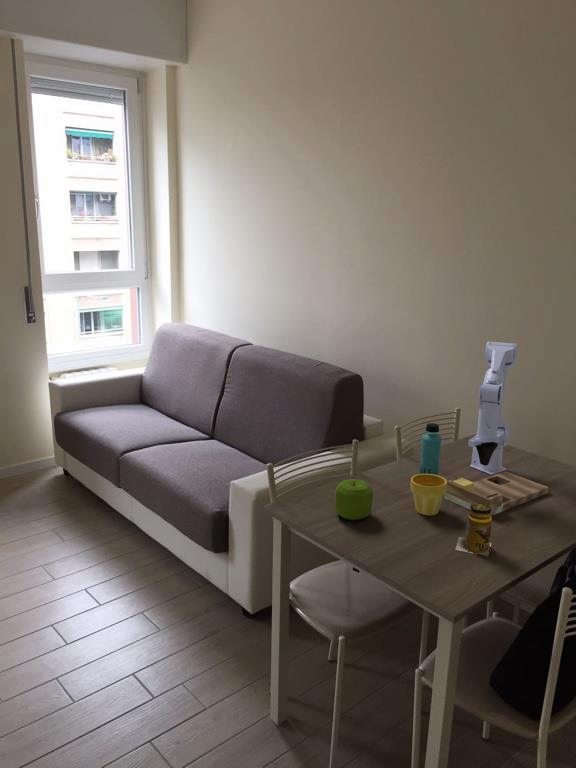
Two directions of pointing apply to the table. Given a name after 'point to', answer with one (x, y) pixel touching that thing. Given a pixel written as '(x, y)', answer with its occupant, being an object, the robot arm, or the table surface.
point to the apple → (353, 499)
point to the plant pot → (428, 492)
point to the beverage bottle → (430, 450)
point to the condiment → (477, 530)
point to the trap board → (496, 492)
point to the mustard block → (464, 483)
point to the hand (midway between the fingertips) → (484, 464)
